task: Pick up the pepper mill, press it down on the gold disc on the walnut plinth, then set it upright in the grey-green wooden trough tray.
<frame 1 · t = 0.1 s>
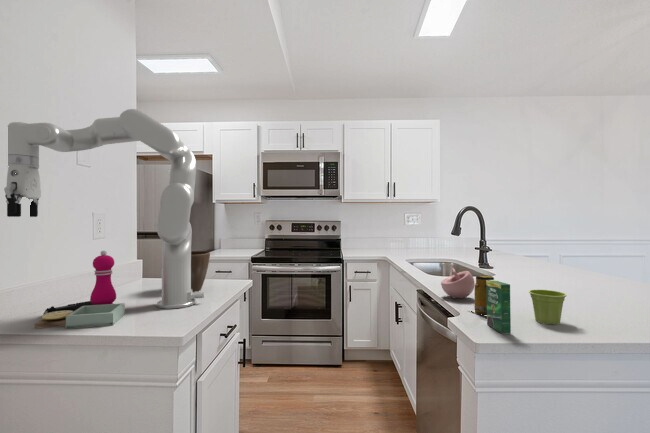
hand: (23, 216, 106), 31 cm above the table, tool pointing down, fingers open, 9 cm apart
condiment: (486, 314, 108), on the table
coffee box: (498, 329, 93), on the table
mortar and pestle: (457, 298, 129), on the table
pepper mill: (103, 311, 111), on the table
gold disc: (57, 316, 98), point 2 cm above the table, slide at -0.2 cm
plant pot: (191, 291, 142), on the table
plant pot 2: (547, 322, 99), on the table
checker plinth: (57, 322, 98), on the table
trough tray: (97, 321, 100), on the table
electric trimmer: (72, 313, 110), on the table
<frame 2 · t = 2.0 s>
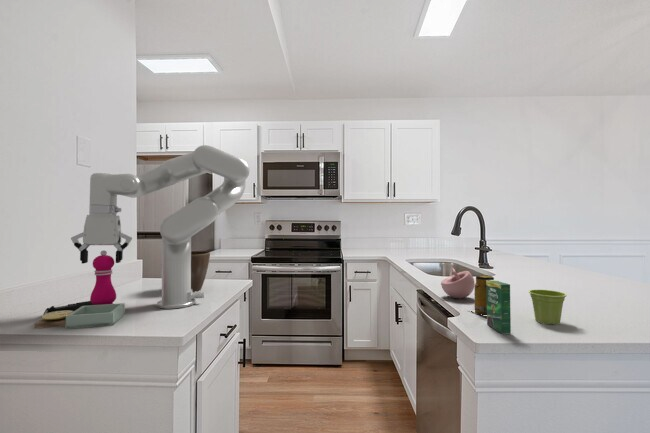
hand: (101, 262, 111), 16 cm above the table, tool pointing down, fingers open, 9 cm apart
nothing on the table moved.
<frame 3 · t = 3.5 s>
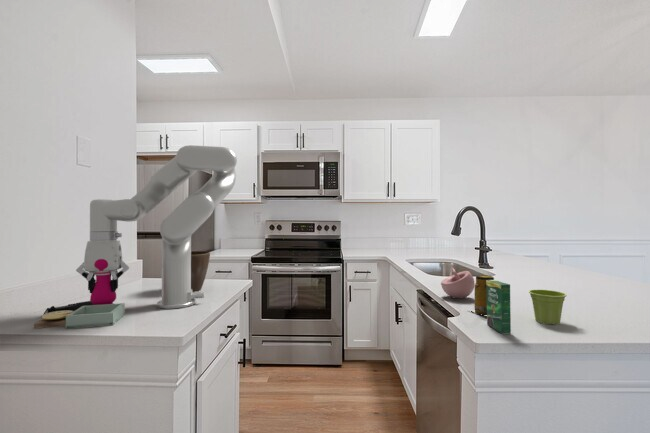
hand: (103, 291, 111), 7 cm above the table, tool pointing down, fingers closed on pepper mill, 5 cm apart
pepper mill: (103, 311, 111), on the table, touching gripper
everything else where it was.
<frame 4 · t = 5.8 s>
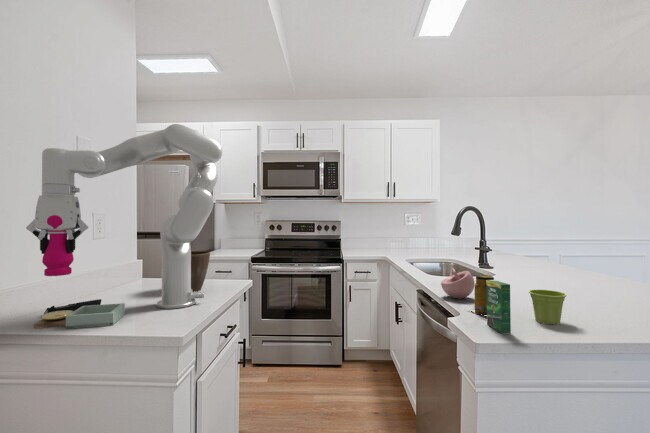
hand: (57, 252, 98), 21 cm above the table, tool pointing down, fingers closed on pepper mill, 5 cm apart
pepper mill: (58, 275, 98), point 14 cm above the table, touching gripper
everything else where it was.
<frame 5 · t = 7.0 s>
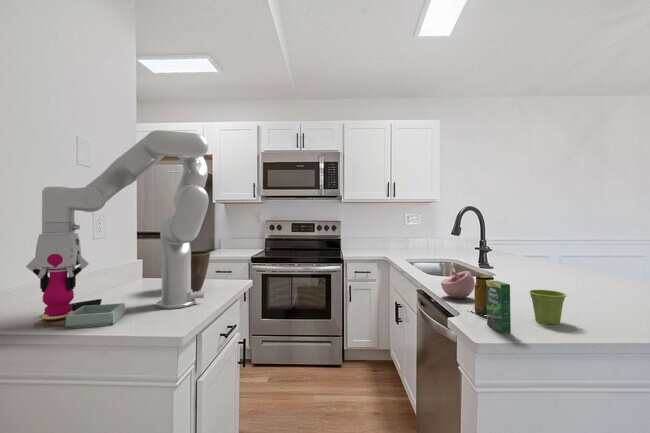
hand: (58, 290, 98), 10 cm above the table, tool pointing down, fingers closed on pepper mill, 5 cm apart
pepper mill: (58, 312, 98), point 3 cm above the table, touching gripper
everything else where it was.
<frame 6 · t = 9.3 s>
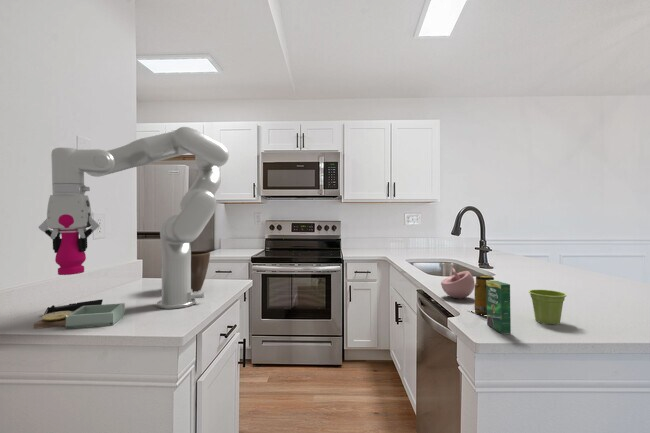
hand: (70, 251, 99), 21 cm above the table, tool pointing down, fingers closed on pepper mill, 5 cm apart
pepper mill: (71, 273, 99), point 14 cm above the table, touching gripper
everything else where it was.
when the fingers open (8 cm above the table, at t = 11.8 s): pepper mill stays where it is, resting on trough tray.
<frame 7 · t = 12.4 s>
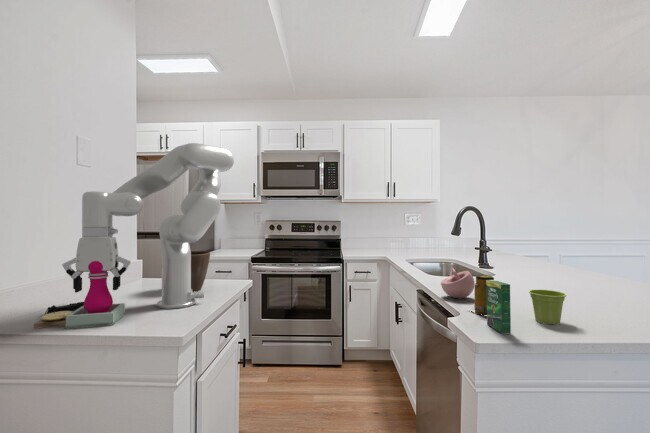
hand: (97, 290, 100), 9 cm above the table, tool pointing down, fingers open, 9 cm apart
pepper mill: (98, 318, 100), point 1 cm above the table, touching trough tray
everything else where it was.
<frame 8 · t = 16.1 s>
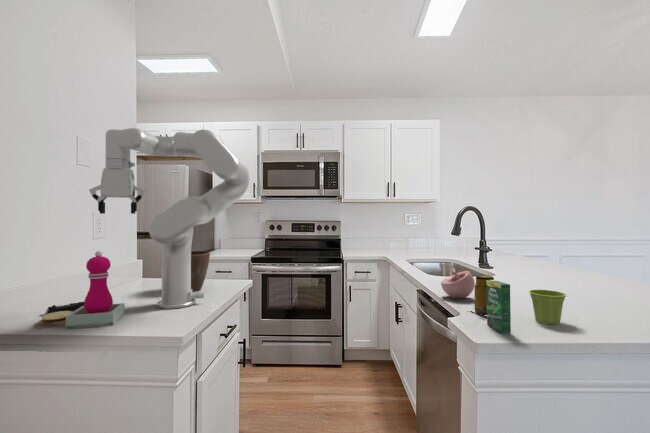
hand: (117, 213, 119), 32 cm above the table, tool pointing down, fingers open, 9 cm apart
at the end: pepper mill 0.3 cm off-centre on the trough tray, point 0.6 cm above the trough tray's base; pepper mill tilted 0°; the gripper is holding nothing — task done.
